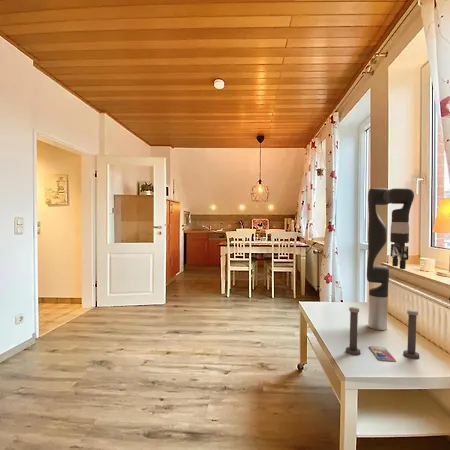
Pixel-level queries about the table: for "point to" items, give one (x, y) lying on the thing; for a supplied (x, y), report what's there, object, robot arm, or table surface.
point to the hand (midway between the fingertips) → (398, 267)
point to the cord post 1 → (353, 332)
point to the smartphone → (382, 354)
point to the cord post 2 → (411, 335)
